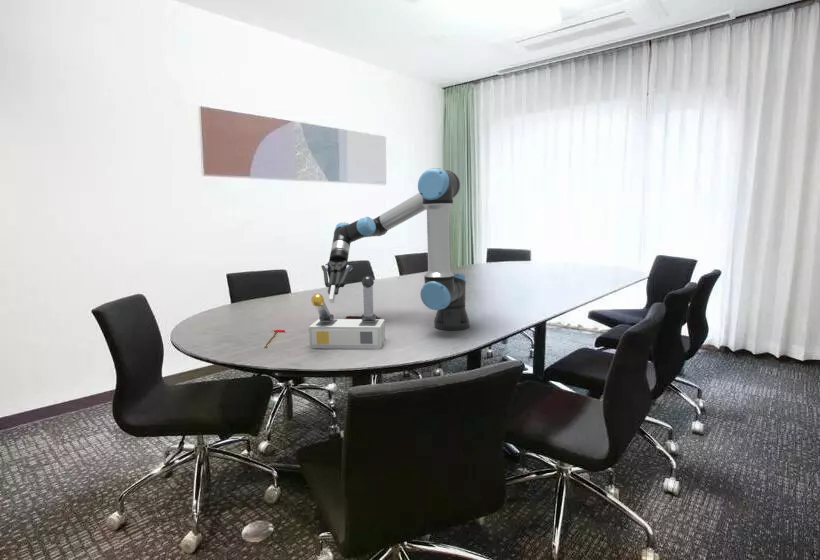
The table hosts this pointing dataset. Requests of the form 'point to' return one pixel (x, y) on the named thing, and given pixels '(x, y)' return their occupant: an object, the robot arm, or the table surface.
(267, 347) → the axe
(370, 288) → the lever black
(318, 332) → the console
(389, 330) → the table surface
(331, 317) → the lever amber
